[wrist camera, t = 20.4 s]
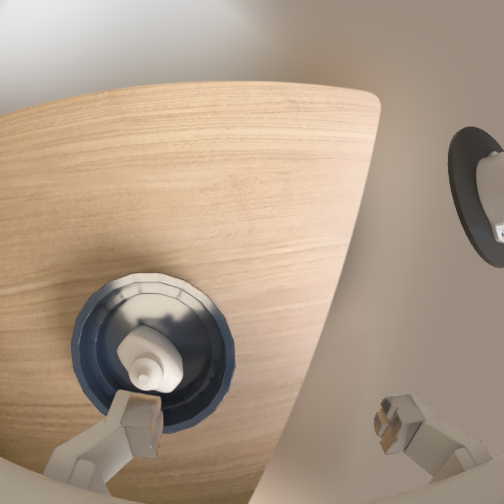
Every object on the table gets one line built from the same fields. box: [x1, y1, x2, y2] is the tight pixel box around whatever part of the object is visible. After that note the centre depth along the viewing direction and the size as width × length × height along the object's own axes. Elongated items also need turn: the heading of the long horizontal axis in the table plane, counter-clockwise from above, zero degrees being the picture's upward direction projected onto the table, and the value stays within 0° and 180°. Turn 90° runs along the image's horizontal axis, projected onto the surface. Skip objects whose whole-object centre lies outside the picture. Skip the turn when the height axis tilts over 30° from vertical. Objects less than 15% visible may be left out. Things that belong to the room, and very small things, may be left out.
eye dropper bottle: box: [117, 325, 183, 393], centre depth 24 cm, size 4×6×12 cm
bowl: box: [71, 273, 235, 434], centre depth 28 cm, size 15×15×6 cm
